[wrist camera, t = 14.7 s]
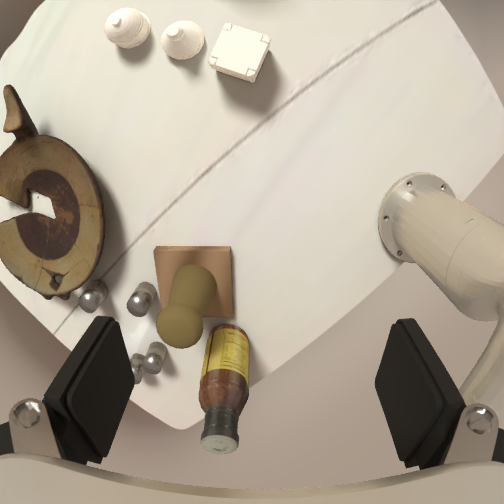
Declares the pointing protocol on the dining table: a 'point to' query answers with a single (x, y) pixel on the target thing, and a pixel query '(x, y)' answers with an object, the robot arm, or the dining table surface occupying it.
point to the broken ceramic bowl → (64, 204)
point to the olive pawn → (186, 306)
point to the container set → (194, 42)
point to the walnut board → (205, 256)
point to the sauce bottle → (224, 387)
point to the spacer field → (138, 308)
